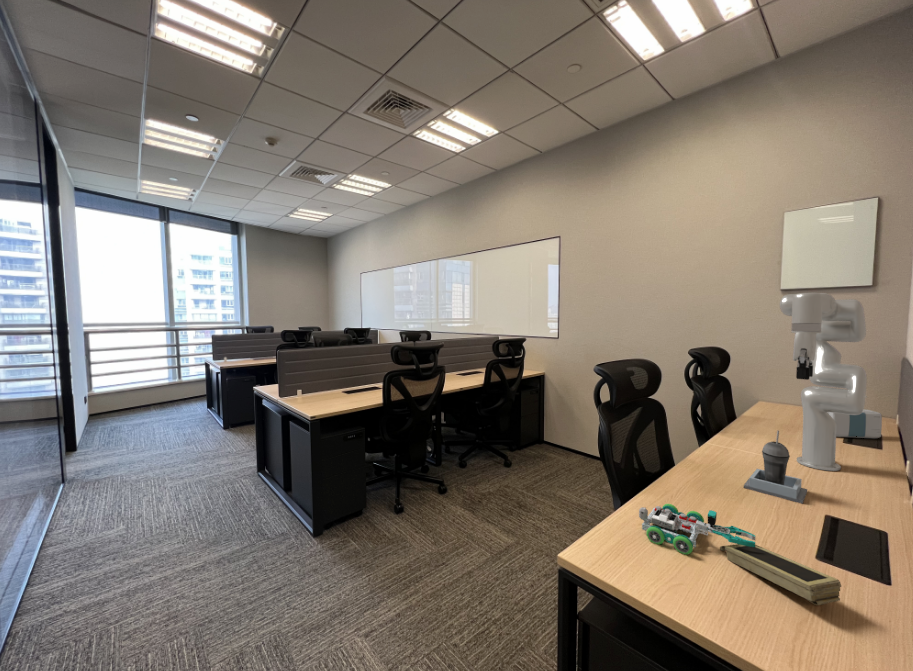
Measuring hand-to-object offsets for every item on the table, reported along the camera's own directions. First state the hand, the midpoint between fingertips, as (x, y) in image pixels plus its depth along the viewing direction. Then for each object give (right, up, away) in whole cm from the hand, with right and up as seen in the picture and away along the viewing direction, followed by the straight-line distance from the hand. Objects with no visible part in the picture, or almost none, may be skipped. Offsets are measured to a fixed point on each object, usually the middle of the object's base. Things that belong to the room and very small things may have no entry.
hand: (804, 377), depth 128 cm
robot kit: (-58, -40, -30) cm, 77 cm away
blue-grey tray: (-12, -39, -2) cm, 40 cm away
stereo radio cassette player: (+76, -36, +56) cm, 101 cm away
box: (-50, -41, -44) cm, 78 cm away
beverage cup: (-12, -38, -1) cm, 39 cm away
